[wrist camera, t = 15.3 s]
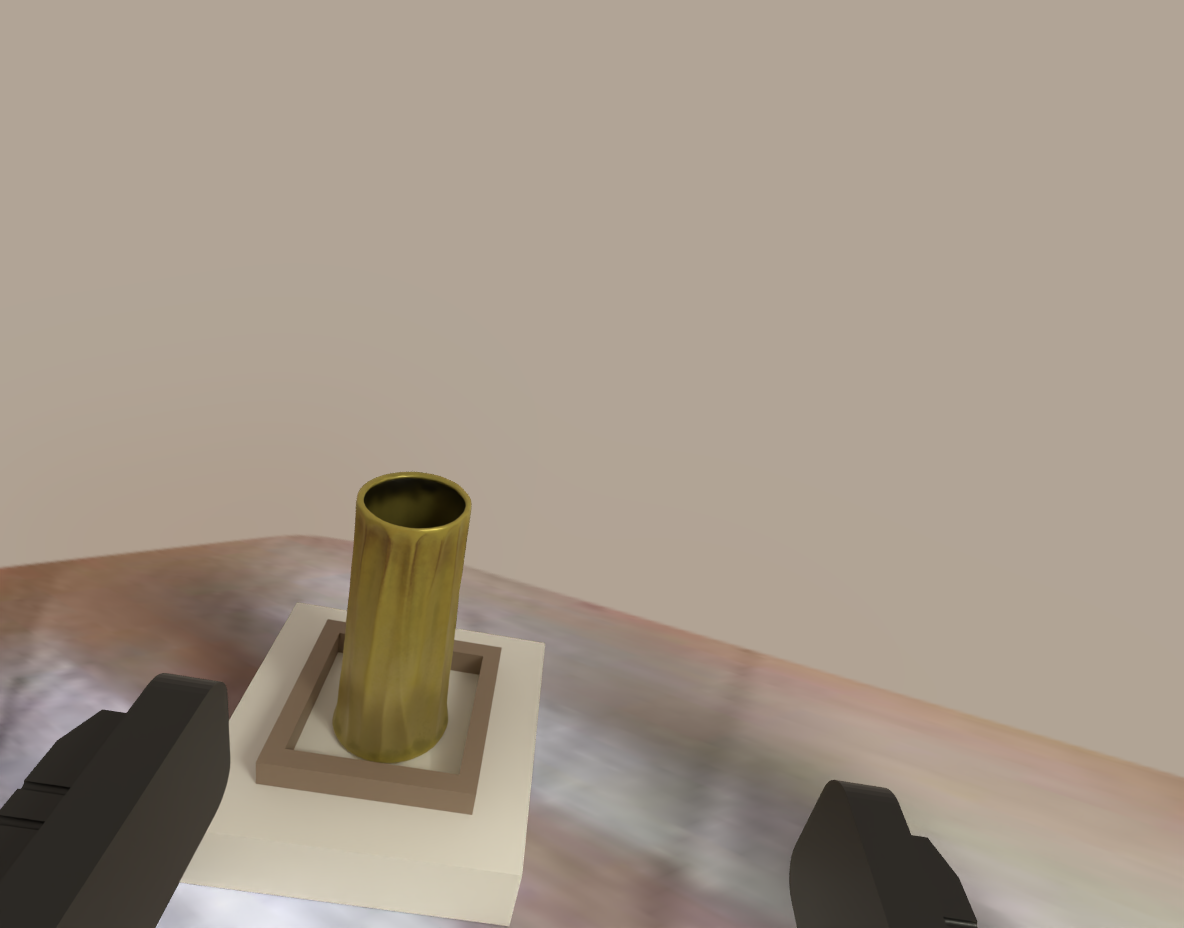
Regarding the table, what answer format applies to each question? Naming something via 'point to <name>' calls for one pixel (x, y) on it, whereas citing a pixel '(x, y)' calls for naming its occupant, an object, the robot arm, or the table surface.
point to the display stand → (378, 785)
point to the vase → (401, 615)
